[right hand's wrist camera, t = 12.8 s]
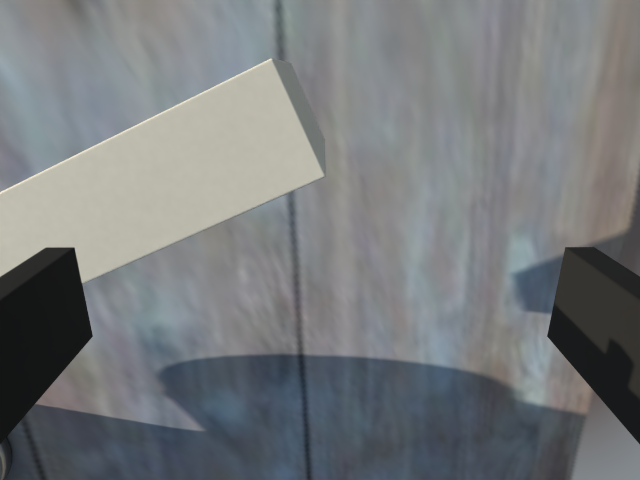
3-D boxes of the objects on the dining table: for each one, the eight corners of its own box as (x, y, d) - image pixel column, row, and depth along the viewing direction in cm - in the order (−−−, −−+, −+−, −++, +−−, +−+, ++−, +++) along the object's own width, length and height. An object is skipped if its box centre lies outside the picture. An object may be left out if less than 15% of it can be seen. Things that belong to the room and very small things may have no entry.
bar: (290, 62, 25) (272, 57, 16) (325, 140, 26) (326, 176, 17) (-154, 279, 29) (-361, 370, 20) (-104, 335, 31) (-277, 442, 22)
